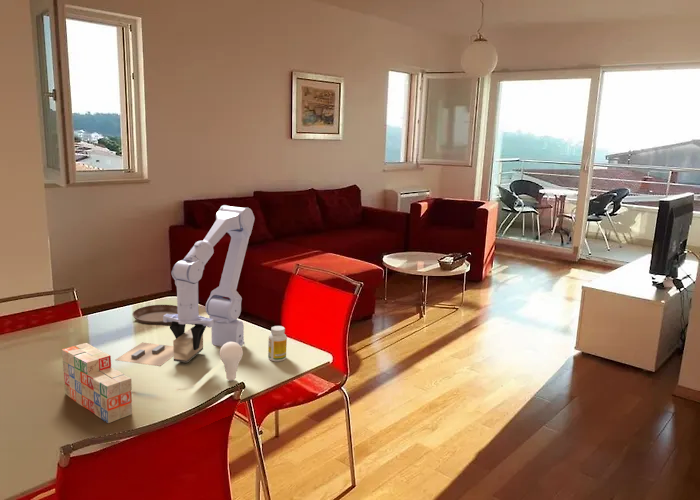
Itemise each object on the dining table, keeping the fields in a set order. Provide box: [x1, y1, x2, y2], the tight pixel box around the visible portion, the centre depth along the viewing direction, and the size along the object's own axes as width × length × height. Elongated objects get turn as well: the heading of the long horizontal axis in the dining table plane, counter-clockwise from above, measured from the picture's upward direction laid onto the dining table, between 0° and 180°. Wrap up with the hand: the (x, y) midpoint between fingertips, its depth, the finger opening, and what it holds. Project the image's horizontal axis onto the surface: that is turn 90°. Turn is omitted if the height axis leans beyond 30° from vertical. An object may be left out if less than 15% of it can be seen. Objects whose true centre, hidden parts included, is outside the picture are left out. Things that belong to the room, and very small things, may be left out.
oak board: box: [115, 342, 174, 367], centre depth 164 cm, size 14×14×2 cm
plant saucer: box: [132, 304, 178, 327], centre depth 196 cm, size 18×18×3 cm
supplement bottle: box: [267, 325, 288, 362], centre depth 167 cm, size 5×5×10 cm
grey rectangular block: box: [131, 349, 145, 359], centre depth 161 cm, size 2×4×1 cm, turn 168°
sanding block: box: [172, 328, 204, 363], centre depth 160 cm, size 4×10×6 cm, turn 169°
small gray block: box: [152, 344, 165, 354], centre depth 166 cm, size 2×4×1 cm, turn 168°
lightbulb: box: [219, 342, 244, 382], centre depth 151 cm, size 6×6×11 cm
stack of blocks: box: [61, 342, 133, 424], centre depth 135 cm, size 21×6×12 cm, turn 51°
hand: (188, 347), depth 161 cm, fingers closed on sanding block, 4 cm apart
